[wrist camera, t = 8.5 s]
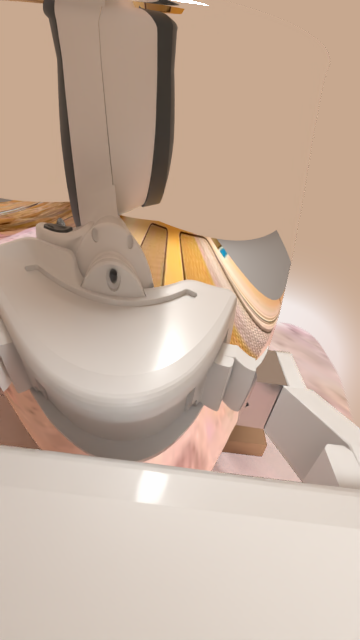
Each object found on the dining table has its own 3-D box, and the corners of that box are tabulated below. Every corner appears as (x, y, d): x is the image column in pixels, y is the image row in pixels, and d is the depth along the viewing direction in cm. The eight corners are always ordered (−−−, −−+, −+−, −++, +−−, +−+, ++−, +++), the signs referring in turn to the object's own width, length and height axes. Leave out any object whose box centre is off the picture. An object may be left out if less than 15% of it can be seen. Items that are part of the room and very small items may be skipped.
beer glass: (90, 431, 16) (30, 81, 8) (217, 442, 16) (283, 95, 8) (26, 601, 10) (-424, -64, 2) (227, 622, 10) (520, -25, 2)
